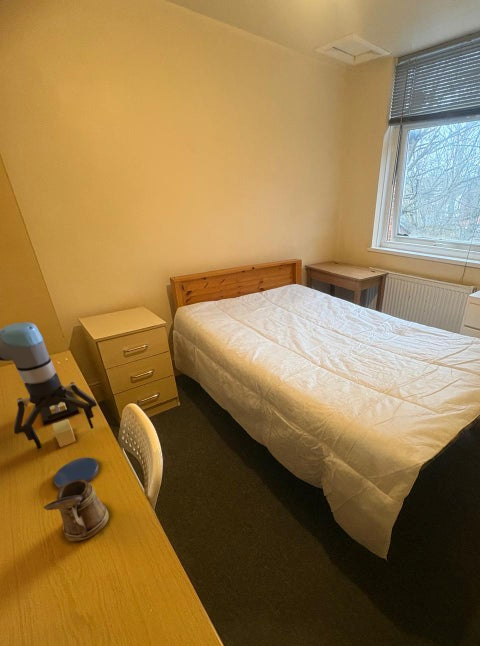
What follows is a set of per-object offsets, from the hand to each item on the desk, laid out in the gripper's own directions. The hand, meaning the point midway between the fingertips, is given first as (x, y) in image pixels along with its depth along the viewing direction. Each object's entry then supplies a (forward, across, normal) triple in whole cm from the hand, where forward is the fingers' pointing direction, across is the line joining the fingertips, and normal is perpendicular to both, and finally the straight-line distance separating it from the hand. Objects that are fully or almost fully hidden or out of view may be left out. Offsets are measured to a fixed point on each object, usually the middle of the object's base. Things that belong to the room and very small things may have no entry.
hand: (66, 435), depth 98 cm
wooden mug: (+2, +1, +38) cm, 38 cm away
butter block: (+1, 0, 0) cm, 1 cm away
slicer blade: (-6, 0, -15) cm, 16 cm away
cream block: (0, 0, -14) cm, 14 cm away
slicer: (+1, 0, -20) cm, 20 cm away
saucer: (+1, 0, +18) cm, 18 cm away
